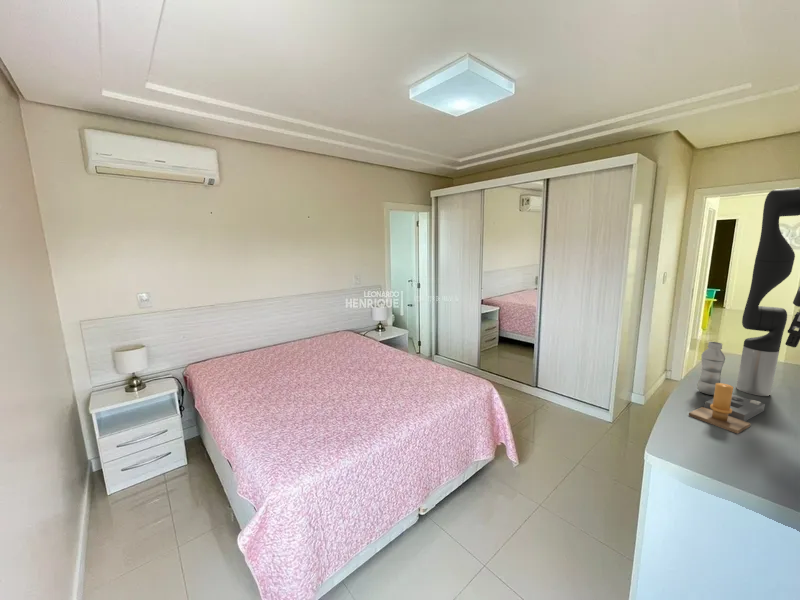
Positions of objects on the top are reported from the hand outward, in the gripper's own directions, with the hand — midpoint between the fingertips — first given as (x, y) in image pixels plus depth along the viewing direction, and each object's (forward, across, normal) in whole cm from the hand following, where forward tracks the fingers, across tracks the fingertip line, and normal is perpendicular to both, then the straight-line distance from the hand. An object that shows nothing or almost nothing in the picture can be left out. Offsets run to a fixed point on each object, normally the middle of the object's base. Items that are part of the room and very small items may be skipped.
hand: (795, 342), depth 99 cm
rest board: (+27, +16, -6) cm, 32 cm away
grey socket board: (+28, +2, -6) cm, 29 cm away
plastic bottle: (+31, -6, -16) cm, 35 cm away
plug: (+26, +16, -6) cm, 31 cm away
